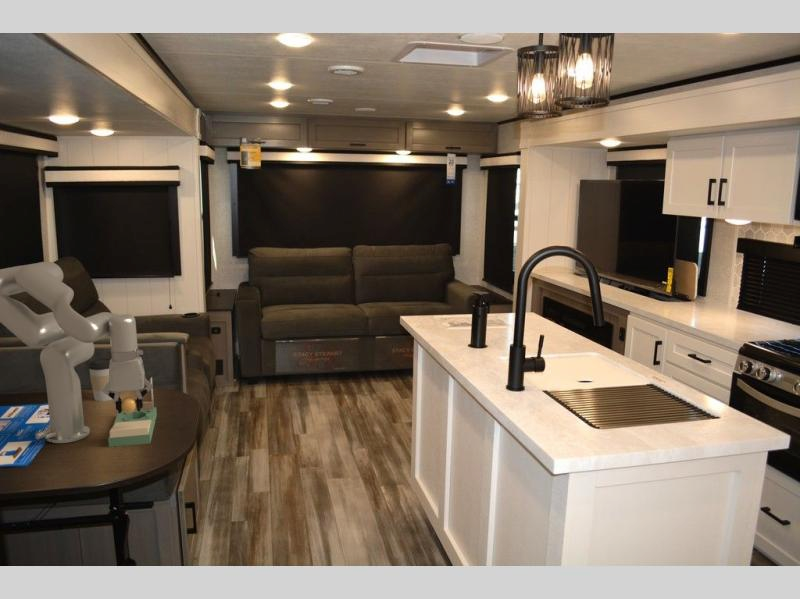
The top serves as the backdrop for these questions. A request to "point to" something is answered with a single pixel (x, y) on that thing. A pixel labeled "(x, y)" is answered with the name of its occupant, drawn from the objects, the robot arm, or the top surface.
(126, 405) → the ball
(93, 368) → the coffee cup
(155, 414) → the putting mat
